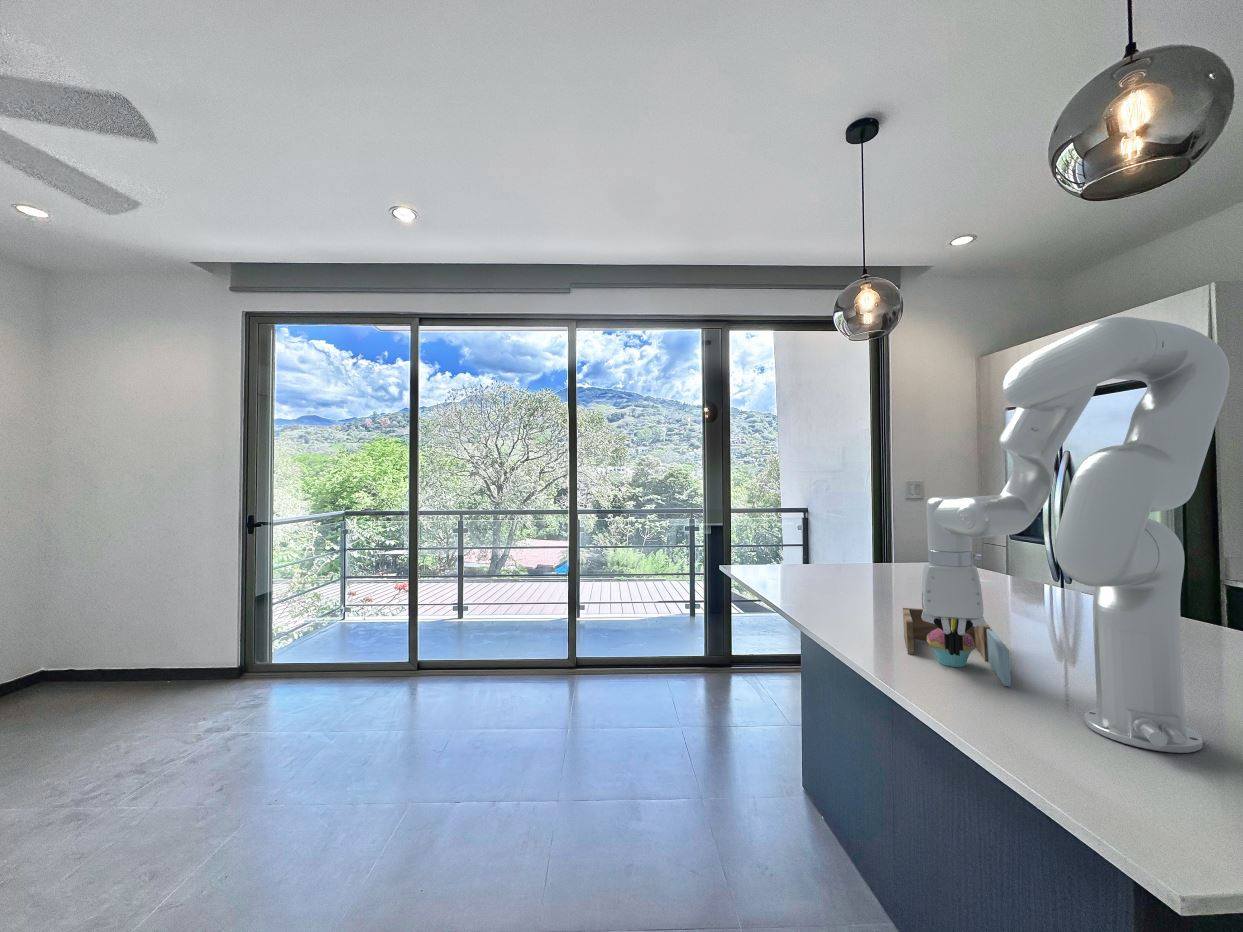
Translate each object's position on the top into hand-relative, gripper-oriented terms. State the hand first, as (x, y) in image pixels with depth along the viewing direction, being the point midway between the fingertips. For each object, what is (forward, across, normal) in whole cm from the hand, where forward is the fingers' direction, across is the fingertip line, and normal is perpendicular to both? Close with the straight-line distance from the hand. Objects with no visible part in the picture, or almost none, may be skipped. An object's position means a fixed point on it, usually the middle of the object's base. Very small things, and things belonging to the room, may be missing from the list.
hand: (953, 653), depth 109 cm
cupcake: (+4, 0, -6) cm, 7 cm away
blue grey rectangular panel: (+3, -8, -1) cm, 8 cm away
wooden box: (+4, 0, -17) cm, 17 cm away
